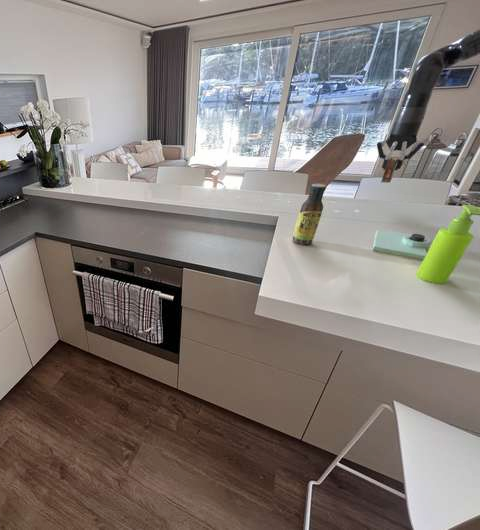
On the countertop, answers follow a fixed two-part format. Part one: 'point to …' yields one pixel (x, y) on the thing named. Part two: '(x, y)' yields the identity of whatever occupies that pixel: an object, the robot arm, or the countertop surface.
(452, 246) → the soap dispenser
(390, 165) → the tin
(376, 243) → the scale
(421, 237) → the tare button
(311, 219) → the sauce bottle
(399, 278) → the countertop surface
